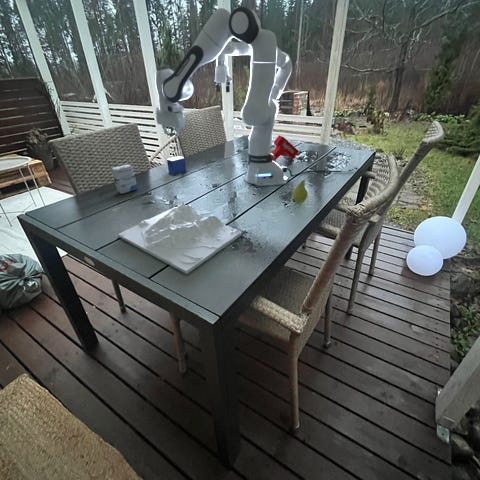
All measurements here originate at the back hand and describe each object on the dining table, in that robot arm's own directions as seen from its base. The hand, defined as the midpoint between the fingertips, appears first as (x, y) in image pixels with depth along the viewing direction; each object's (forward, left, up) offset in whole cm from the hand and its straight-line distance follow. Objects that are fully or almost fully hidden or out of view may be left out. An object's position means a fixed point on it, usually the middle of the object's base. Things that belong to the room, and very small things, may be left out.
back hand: (223, 92), depth 198 cm
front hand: (+65, +40, -15) cm, 78 cm away
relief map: (+98, +103, -36) cm, 147 cm away
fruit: (+43, +112, -36) cm, 125 cm away
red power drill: (0, +63, -36) cm, 72 cm away
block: (+65, +41, -36) cm, 84 cm away
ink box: (+97, +48, -36) cm, 114 cm away
